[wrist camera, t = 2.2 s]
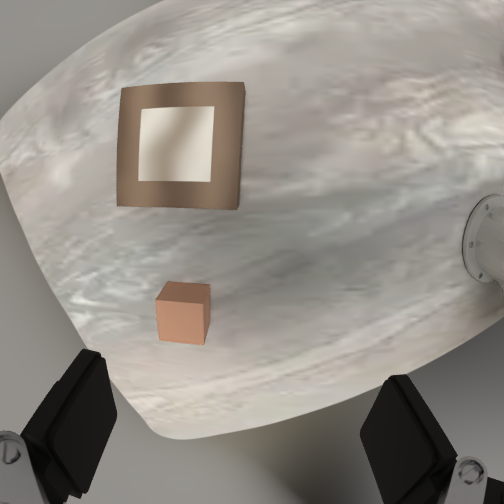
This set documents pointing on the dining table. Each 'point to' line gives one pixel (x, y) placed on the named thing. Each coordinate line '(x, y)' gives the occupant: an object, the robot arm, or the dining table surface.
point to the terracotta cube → (183, 312)
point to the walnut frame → (180, 145)
